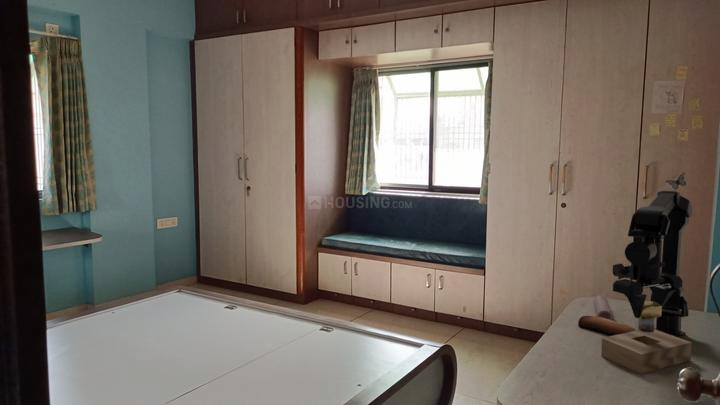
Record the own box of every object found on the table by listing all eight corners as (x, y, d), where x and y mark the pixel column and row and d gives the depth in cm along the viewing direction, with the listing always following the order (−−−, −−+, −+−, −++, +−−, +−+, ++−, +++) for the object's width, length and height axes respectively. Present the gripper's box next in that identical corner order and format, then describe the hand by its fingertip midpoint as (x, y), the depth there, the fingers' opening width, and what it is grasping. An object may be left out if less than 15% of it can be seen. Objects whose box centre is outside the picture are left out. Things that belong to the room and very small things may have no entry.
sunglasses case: (650, 336, 149) (645, 319, 147) (640, 353, 146) (634, 336, 143) (592, 320, 164) (586, 305, 161) (581, 335, 161) (575, 320, 158)
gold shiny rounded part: (644, 324, 138) (645, 299, 137) (666, 332, 132) (667, 306, 131) (626, 327, 135) (627, 302, 134) (648, 336, 129) (649, 309, 128)
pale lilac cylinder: (614, 312, 159) (608, 296, 176) (598, 309, 160) (593, 293, 177) (612, 326, 160) (606, 308, 176) (596, 323, 161) (592, 306, 178)
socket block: (649, 344, 143) (649, 327, 142) (690, 360, 132) (691, 342, 131) (601, 355, 136) (601, 338, 136) (640, 373, 125) (641, 354, 125)
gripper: (646, 248, 142) (644, 302, 144) (596, 255, 135) (595, 312, 137) (685, 256, 132) (682, 314, 134) (632, 264, 125) (630, 325, 127)
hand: (646, 315), depth 133 cm, fingers closed on gold shiny rounded part, 7 cm apart
